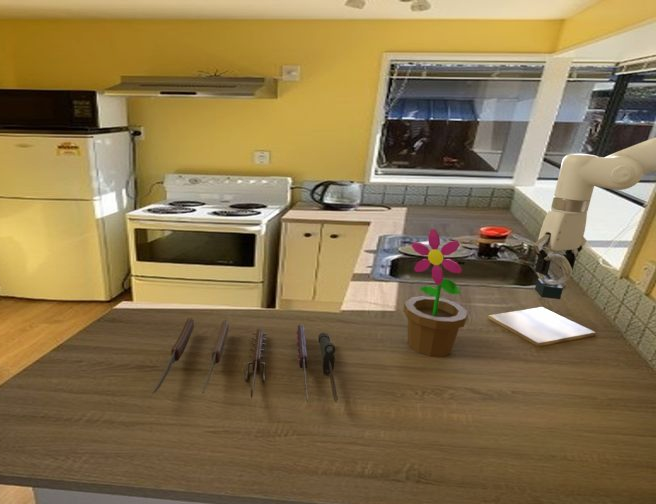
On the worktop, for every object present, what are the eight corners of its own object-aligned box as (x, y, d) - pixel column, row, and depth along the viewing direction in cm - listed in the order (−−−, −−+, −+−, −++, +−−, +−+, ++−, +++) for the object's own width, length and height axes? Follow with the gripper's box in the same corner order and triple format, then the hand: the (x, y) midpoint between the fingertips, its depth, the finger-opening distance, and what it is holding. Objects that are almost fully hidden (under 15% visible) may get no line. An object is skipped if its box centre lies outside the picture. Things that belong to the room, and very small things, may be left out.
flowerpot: (388, 343, 105) (402, 225, 95) (418, 326, 114) (434, 217, 104) (442, 369, 95) (465, 240, 85) (471, 347, 104) (494, 229, 94)
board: (541, 310, 126) (541, 306, 125) (595, 335, 111) (596, 332, 111) (487, 318, 120) (488, 315, 119) (537, 346, 105) (538, 343, 105)
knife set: (148, 417, 76) (146, 379, 74) (188, 334, 107) (188, 306, 105) (344, 429, 75) (348, 391, 73) (326, 342, 107) (329, 314, 105)
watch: (568, 300, 109) (579, 259, 105) (533, 296, 111) (543, 256, 107) (560, 291, 114) (570, 253, 111) (527, 288, 116) (536, 250, 112)
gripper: (580, 201, 111) (564, 264, 116) (530, 203, 105) (515, 269, 111) (610, 207, 104) (591, 273, 110) (558, 210, 99) (541, 280, 104)
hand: (553, 271), depth 110 cm, fingers closed on watch, 8 cm apart
